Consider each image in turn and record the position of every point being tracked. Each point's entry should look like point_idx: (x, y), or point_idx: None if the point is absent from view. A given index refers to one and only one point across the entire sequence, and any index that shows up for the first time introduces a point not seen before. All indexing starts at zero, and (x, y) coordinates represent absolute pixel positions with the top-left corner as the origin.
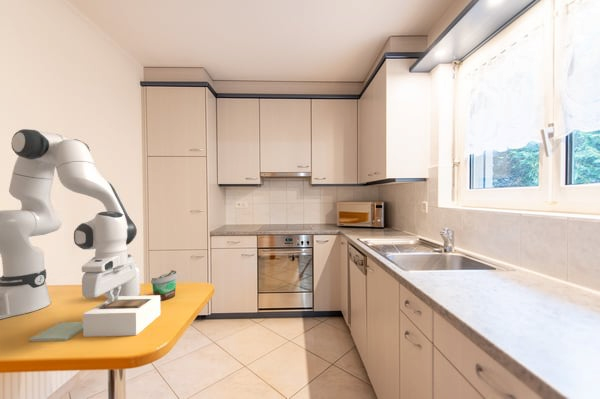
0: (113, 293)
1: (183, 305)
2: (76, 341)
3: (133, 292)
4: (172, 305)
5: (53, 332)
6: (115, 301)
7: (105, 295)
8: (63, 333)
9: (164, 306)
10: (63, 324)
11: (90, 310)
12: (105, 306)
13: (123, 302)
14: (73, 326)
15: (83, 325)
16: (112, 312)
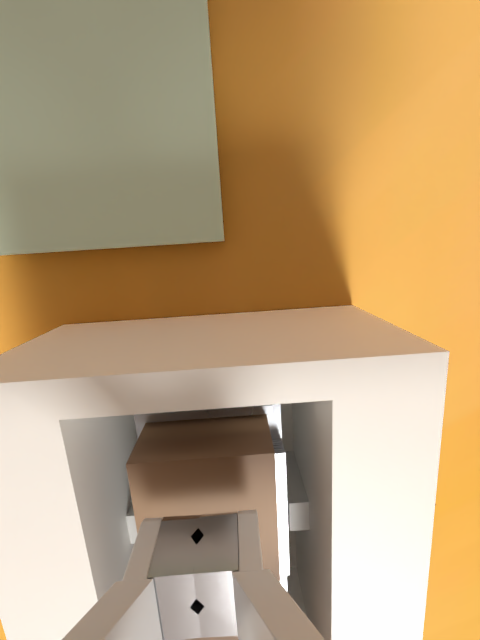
0: (243, 601)
1: (460, 619)
2: (9, 330)
3: None
4: (471, 564)
5: (37, 62)
6: (262, 489)
7: (75, 625)
8: (37, 170)
9: (463, 528)
10: (166, 6)
11: (21, 396)
12: (130, 480)
13: None
14: (141, 146)
15: (18, 347)
16: (20, 629)
